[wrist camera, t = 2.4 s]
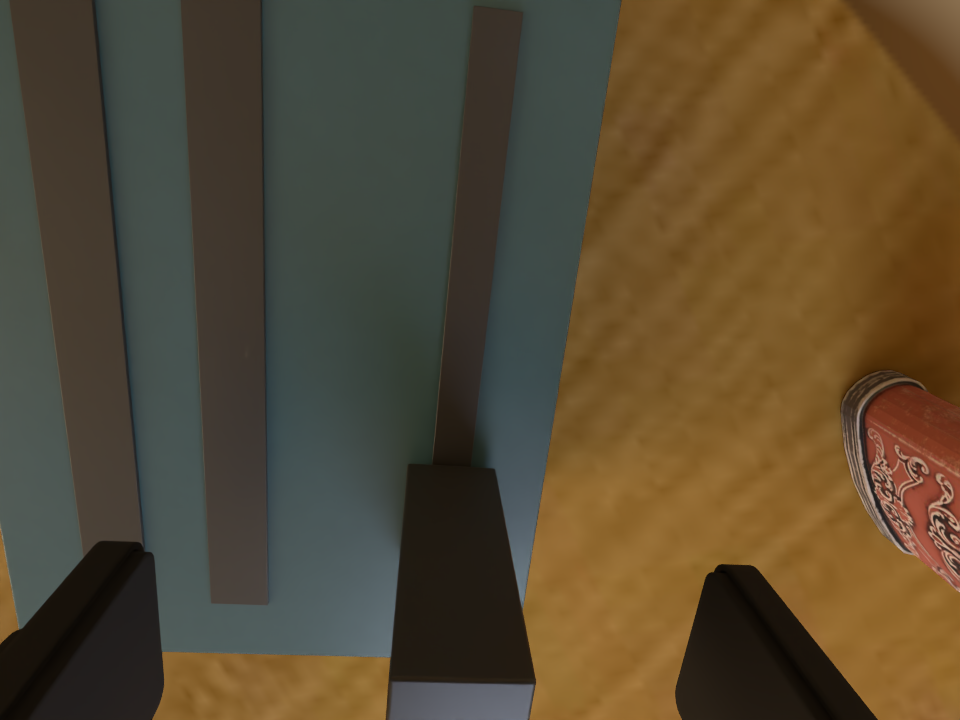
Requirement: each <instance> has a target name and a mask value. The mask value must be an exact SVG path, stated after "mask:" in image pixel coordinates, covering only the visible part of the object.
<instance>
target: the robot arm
mask: <svg viewBox="0 0 960 720" xmlns="http://www.w3.org/2000/svg"><path fill="white" fill-rule="evenodd" d="M163 688H164V673H163V660H162V647H161V635H160V622H159V610H158V597H157V585H156V572H155V560H154V555H153V553H152V552H144V548H143V546H142V544H141V543H139V542H128V541H99V542H98V543H96V544H95V545H94V546H93V547H92V548H91V550H90V551H89V552H88V553H87V554H86V555H85V556H84V558H83V559H82V560H81V561H80V562H79V563H78V565H77V566H76V567H75V568H74V569H73V570H72V571H71V573H70V574H69V575H68V576H67V577H66V578H65V580H64V581H63V582H62V583H61V584H60V585H59V586H58V588H57V589H56V590H55V591H54V592H53V593H52V595H51V596H50V597H49V598H48V599H47V600H46V601H45V603H44V604H43V605H42V606H41V607H40V608H39V610H38V611H37V612H36V613H35V614H34V615H33V616H32V618H31V619H30V620H29V621H28V622H27V623H26V625H25V626H24V627H23V628H22V629H20V630H17V631H15V632H13V633H12V634H11V635H10V636H9V637H7V638H6V639H5V640H4V641H3V642H2V643H1V644H0V720H152V718H153V716H154V714H155V712H156V710H157V708H158V706H159V703H160V700H161V697H162V693H163ZM675 697H676V704H677V708H678V711H679V714H680V716H681V718H682V720H878V719H877V718H876V717H875V716H874V714H873V713H872V712H871V711H870V709H869V708H868V707H867V706H866V704H865V703H864V702H863V701H862V699H861V698H860V697H859V696H858V694H857V693H856V692H855V691H854V689H853V688H852V687H851V686H850V684H849V683H848V682H847V681H846V679H845V678H844V677H843V676H842V674H841V673H840V672H839V671H838V669H837V668H836V667H835V666H834V664H833V663H832V662H831V661H830V659H829V658H828V657H827V656H826V654H825V653H824V652H823V651H822V649H821V648H820V647H819V646H818V644H817V643H816V642H815V641H814V639H813V638H812V637H811V636H810V634H809V633H808V632H807V631H806V629H805V628H804V627H803V626H802V624H801V623H800V622H799V621H798V619H797V618H796V617H795V616H794V614H793V613H792V612H791V610H790V609H789V608H788V607H787V605H786V604H785V603H784V602H783V600H782V599H781V598H780V597H779V595H778V594H777V593H776V592H775V590H774V589H773V588H772V587H771V585H770V584H769V583H768V582H767V580H766V579H765V578H764V577H763V575H762V574H761V573H760V572H759V571H758V570H757V569H756V568H755V567H754V566H751V565H728V564H721V565H718V566H717V567H716V569H715V571H714V572H711V573H709V574H708V575H707V576H706V579H705V582H704V586H703V589H702V593H701V597H700V600H699V604H698V608H697V611H696V615H695V619H694V623H693V626H692V630H691V634H690V637H689V641H688V645H687V648H686V652H685V656H684V659H683V663H682V667H681V670H680V674H679V678H678V681H677V685H676V690H675Z"/></svg>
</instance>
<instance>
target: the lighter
mask: <svg viewBox="0 0 960 720" xmlns="http://www.w3.org/2000/svg"><path fill="white" fill-rule="evenodd" d="M841 419H842V429H843V438H844V448H845V452H846V455H847V459H848V463H849V467H850V471H851V475H852V479H853V482H854V484H855V486H856V489H857V491H858V493H859V495H860V497H861V500H862V502H863V504H864V506H865V508H866V510H867V512H868V513H869V515H870V516H871V518H872V519H873V521H874V522H875V524H876V525H877V527H878V528H879V530H880V531H881V533H882V534H883V535H884V536H885V537H886V538H887V539H889V540H890V541H891V542H892V543H893V544H894V545H896V546H897V547H898V548H899V549H900V550H902V551H903V552H904V553H907V554H911V555H915V556H917V557H918V558H919V559H920V560H921V561H923V562H924V563H925V564H926V565H927V566H929V567H930V568H931V569H932V570H933V571H935V572H936V573H937V574H938V575H939V576H941V577H942V578H943V579H944V580H945V581H947V582H948V583H949V584H950V585H951V586H952V587H954V588H955V589H956V590H957V591H958V592H960V408H959V407H957V406H955V405H953V404H951V403H949V402H946V401H944V400H942V399H940V398H938V397H936V396H934V395H932V394H930V393H928V391H927V389H926V388H925V387H924V386H923V385H922V384H921V383H920V382H918V381H916V380H914V379H912V378H910V377H908V376H906V375H904V374H902V373H899V372H895V371H892V370H888V371H878V372H875V373H872V374H869V375H867V376H865V377H864V378H862V379H861V380H859V381H858V382H856V383H855V384H854V385H853V386H852V388H851V389H850V390H849V391H848V392H847V394H846V396H845V397H844V399H843V401H842V406H841Z"/></svg>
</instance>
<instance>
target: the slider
mask: <svg viewBox="0 0 960 720" xmlns="http://www.w3.org/2000/svg"><path fill="white" fill-rule="evenodd" d="M535 685H536V679H535V673H534V668H533V663H532V658H531V653H530V647H529V642H528V637H527V632H526V626H525V621H524V616H523V611H522V606H521V600H520V595H519V590H518V585H517V579H516V574H515V569H514V564H513V558H512V553H511V548H510V543H509V538H508V532H507V527H506V522H505V517H504V511H503V506H502V501H501V496H500V491H499V485H498V480H497V475H496V470H495V469H494V468H479V467H462V466H445V465H428V464H411V463H410V464H408V466H407V474H406V486H405V497H404V509H403V521H402V532H401V544H400V555H399V567H398V578H397V590H396V601H395V613H394V624H393V636H392V647H391V659H390V670H389V683H388V696H387V710H386V720H529V718H530V712H531V707H532V701H533V696H534V690H535Z"/></svg>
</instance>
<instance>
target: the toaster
mask: <svg viewBox="0 0 960 720" xmlns="http://www.w3.org/2000/svg"><path fill="white" fill-rule="evenodd" d="M620 6H621V0H0V529H1V535H2V540H3V545H4V551H5V556H6V562H7V567H8V573H9V578H10V583H11V589H12V594H13V600H14V605H15V610H16V616H17V621H18V627H19V630H20V629H22V628H23V627H24V626H25V625H26V623H27V622H28V621H29V620H30V619H31V618H32V616H33V615H34V614H35V613H36V612H37V611H38V610H39V608H40V607H41V606H42V605H43V604H44V603H45V601H46V600H47V599H48V598H49V597H50V596H51V595H52V593H53V592H54V591H55V590H56V589H57V588H58V586H59V585H60V584H61V583H62V582H63V581H64V580H65V578H66V577H67V576H68V575H69V574H70V573H71V571H72V570H73V569H74V568H75V567H76V566H77V565H78V563H79V562H80V561H81V560H82V559H83V558H84V556H85V555H86V554H87V553H88V552H89V551H90V550H91V548H92V547H93V546H94V545H95V544H96V543H98V542H99V541H128V542H139V543H141V544H142V546H143V548H144V552H152V553H153V555H154V560H155V572H156V585H157V597H158V610H159V622H160V635H161V647H162V652H197V653H238V654H278V655H319V656H360V657H391V647H392V636H393V624H394V613H395V601H396V590H397V578H398V567H399V555H400V544H401V532H402V521H403V509H404V497H405V486H406V474H407V466H408V464H410V463H411V464H428V465H445V466H462V467H479V468H494V469H495V470H496V475H497V480H498V485H499V491H500V496H501V501H502V506H503V511H504V517H505V522H506V527H507V532H508V538H509V543H510V548H511V553H512V558H513V564H514V569H515V574H516V579H517V585H518V590H519V595H520V600H521V606H522V611H523V605H524V599H525V593H526V587H527V581H528V574H529V568H530V562H531V556H532V550H533V544H534V537H535V531H536V525H537V519H538V513H539V506H540V500H541V494H542V488H543V482H544V476H545V469H546V463H547V457H548V451H549V445H550V439H551V432H552V426H553V420H554V414H555V408H556V402H557V395H558V389H559V383H560V377H561V371H562V364H563V358H564V352H565V346H566V340H567V334H568V327H569V321H570V315H571V309H572V303H573V297H574V290H575V284H576V278H577V272H578V266H579V259H580V253H581V247H582V241H583V235H584V229H585V222H586V216H587V210H588V204H589V198H590V192H591V185H592V179H593V173H594V167H595V161H596V155H597V148H598V142H599V136H600V130H601V124H602V117H603V111H604V105H605V99H606V93H607V87H608V80H609V74H610V68H611V62H612V56H613V50H614V43H615V37H616V31H617V25H618V19H619V12H620Z"/></svg>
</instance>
